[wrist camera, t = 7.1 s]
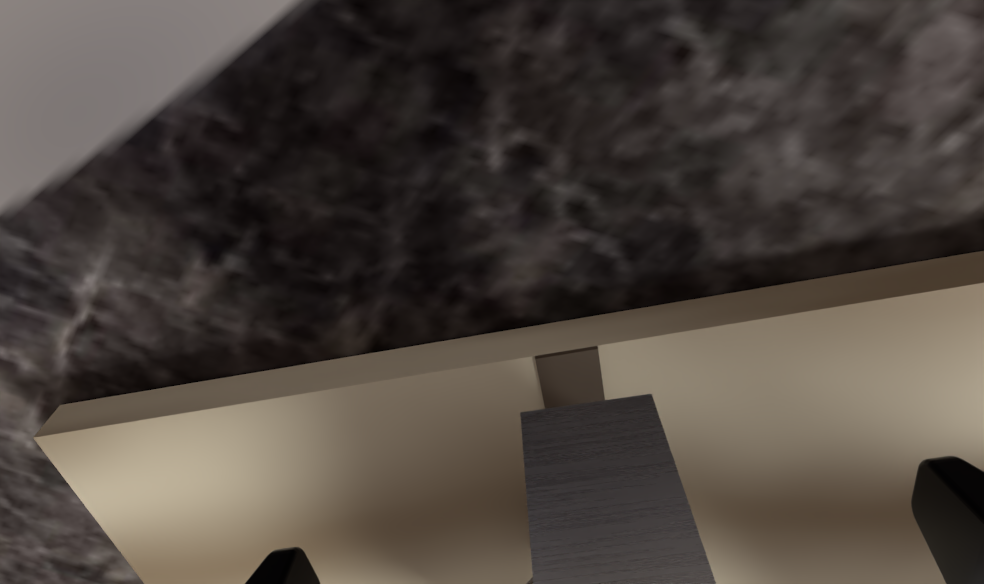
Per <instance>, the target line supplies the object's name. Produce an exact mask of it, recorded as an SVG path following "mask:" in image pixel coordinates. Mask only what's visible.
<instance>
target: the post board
mask: <svg viewBox="0 0 984 584" xmlns="http://www.w3.org/2000/svg"><path fill="white" fill-rule="evenodd" d="M645 394H652V397H653V400H654V403H655V405H656V408H657V411H658V414H659V417H660V420H661V423H662V426H663V429H664V432H665V435H666V438H667V441H668V444H669V447H670V450H671V452H672V455H673V458H674V461H675V464H676V467H677V470H678V473H679V476H680V479H681V482H682V485H683V488H684V491H685V494H686V497H687V500H688V502H689V505H690V508H691V511H692V514H693V517H694V520H695V523H696V526H697V529H698V532H699V535H700V538H701V541H702V544H703V547H704V549H705V552H706V555H707V558H708V561H709V564H710V567H711V570H712V573H713V576H714V579H715V582H716V584H946V582H945V580H944V578H943V576H942V574H941V572H940V570H939V568H938V566H937V564H936V562H935V560H934V557H933V555H932V553H931V551H930V549H929V547H928V545H927V543H926V541H925V539H924V537H923V535H922V533H921V531H920V529H919V527H918V524H917V522H916V520H915V518H914V515H913V512H912V507H911V498H912V493H913V489H914V484H915V479H916V475H917V470H918V466H919V464H920V463H921V462H922V461H923V460H925V459H929V458H936V457H943V456H956V457H959V458H961V459H963V460H965V461H967V462H969V463H970V464H972V465H974V466H975V467H977V468H979V469H981V470H982V471H984V251H979V252H973V253H967V254H961V255H955V256H949V257H943V258H937V259H931V260H925V261H919V262H913V263H907V264H901V265H895V266H889V267H883V268H877V269H871V270H865V271H860V272H854V273H848V274H842V275H836V276H830V277H824V278H818V279H812V280H806V281H800V282H794V283H788V284H782V285H776V286H770V287H764V288H758V289H752V290H746V291H740V292H734V293H728V294H722V295H716V296H710V297H704V298H698V299H692V300H686V301H680V302H674V303H668V304H662V305H656V306H650V307H644V308H638V309H632V310H626V311H620V312H614V313H608V314H602V315H596V316H590V317H584V318H578V319H572V320H566V321H560V322H554V323H548V324H542V325H536V326H530V327H524V328H518V329H512V330H506V331H500V332H494V333H488V334H482V335H476V336H470V337H464V338H458V339H452V340H446V341H440V342H434V343H428V344H422V345H416V346H410V347H404V348H398V349H392V350H387V351H381V352H375V353H369V354H363V355H357V356H351V357H345V358H339V359H333V360H327V361H321V362H315V363H309V364H303V365H297V366H291V367H285V368H279V369H273V370H267V371H261V372H255V373H249V374H243V375H237V376H231V377H225V378H219V379H213V380H207V381H201V382H195V383H189V384H183V385H177V386H171V387H165V388H159V389H153V390H147V391H141V392H135V393H129V394H123V395H117V396H111V397H105V398H99V399H93V400H87V401H81V402H75V403H69V404H63V405H60V406H59V407H58V408H57V409H56V411H55V412H54V413H53V414H52V415H51V417H50V418H49V419H48V420H47V421H46V423H45V424H44V425H43V426H42V428H41V429H40V430H39V431H38V432H37V434H36V435H35V436H34V437H33V438H34V439H35V441H36V442H37V443H38V445H39V446H40V447H41V449H42V450H43V451H44V452H45V454H46V455H47V456H48V458H49V459H50V460H51V462H52V463H53V464H54V466H55V467H56V468H57V470H58V471H59V472H60V473H61V475H62V476H63V477H64V479H65V480H66V481H67V483H68V484H69V485H70V487H71V488H72V489H73V491H74V492H75V493H76V494H77V496H78V497H79V498H80V500H81V501H82V502H83V504H84V505H85V506H86V508H87V509H88V510H89V512H90V513H91V514H92V515H93V517H94V518H95V519H96V521H97V522H98V523H99V525H100V526H101V527H102V529H103V530H104V531H105V533H106V534H107V535H108V536H109V538H110V539H111V540H112V542H113V543H114V544H115V546H116V547H117V548H118V550H119V551H120V552H121V554H122V555H123V556H124V557H125V559H126V560H127V561H128V563H129V564H130V565H131V567H132V568H133V569H134V571H135V572H136V573H137V575H138V576H139V577H140V578H141V580H142V581H143V582H144V584H245V583H246V581H247V580H248V579H249V578H250V576H251V575H252V574H253V573H254V571H255V570H256V569H257V568H258V566H259V565H260V564H261V563H262V561H263V560H264V559H265V558H266V556H267V555H268V554H269V553H271V552H272V551H274V550H277V549H283V548H290V547H300V548H301V549H303V551H304V552H305V554H306V556H307V558H308V559H309V561H310V563H311V565H312V567H313V569H314V571H315V573H316V575H317V576H318V578H319V581H320V584H526V583H527V582H528V581H529V580H530V579H531V578H532V577H533V573H532V560H531V547H530V534H529V521H528V508H527V495H526V481H525V468H524V455H523V442H522V429H521V416H520V412H526V411H533V410H540V409H547V408H554V407H561V406H568V405H575V404H582V403H589V402H596V401H603V400H610V399H617V398H624V397H631V396H638V395H645Z"/></svg>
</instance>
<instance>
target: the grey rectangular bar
mask: <svg viewBox="0 0 984 584" xmlns="http://www.w3.org/2000/svg"><path fill="white" fill-rule="evenodd" d="M520 416H521V429H522V442H523V455H524V468H525V481H526V495H527V508H528V521H529V534H530V547H531V560H532V573H533V577H532V578H531V579H530V580H529V581H528V582H527V583H526V584H716V582H715V579H714V576H713V573H712V570H711V567H710V564H709V561H708V558H707V555H706V552H705V549H704V547H703V544H702V541H701V538H700V535H699V532H698V529H697V526H696V523H695V520H694V517H693V514H692V511H691V508H690V505H689V502H688V500H687V497H686V494H685V491H684V488H683V485H682V482H681V479H680V476H679V473H678V470H677V467H676V464H675V461H674V458H673V455H672V452H671V450H670V447H669V444H668V441H667V438H666V435H665V432H664V429H663V426H662V423H661V420H660V417H659V414H658V411H657V408H656V405H655V403H654V400H653V397H652V394H645V395H638V396H631V397H624V398H617V399H610V400H603V401H596V402H589V403H582V404H575V405H568V406H561V407H554V408H547V409H540V410H533V411H526V412H520Z"/></svg>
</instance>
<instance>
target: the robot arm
mask: <svg viewBox="0 0 984 584" xmlns="http://www.w3.org/2000/svg"><path fill="white" fill-rule="evenodd" d="M911 507H912V512H913V515H914V518H915V520H916V522H917V524H918V527H919V529H920V531H921V533H922V535H923V537H924V539H925V541H926V543H927V545H928V547H929V549H930V551H931V553H932V555H933V557H934V560H935V562H936V564H937V566H938V568H939V570H940V572H941V574H942V576H943V578H944V580H945V582H946V584H984V471H982V470H981V469H979V468H977V467H975V466H974V465H972V464H970V463H969V462H967V461H965V460H963V459H961V458H959V457H956V456H943V457H936V458H929V459H925V460H923V461H922V462H921V463H920V464H919V466H918V470H917V475H916V479H915V484H914V489H913V493H912V498H911ZM245 584H320V581H319V578H318V576H317V575H316V573H315V571H314V569H313V567H312V565H311V563H310V561H309V559H308V558H307V556H306V554H305V552H304V551H303V549H301V548H300V547H290V548H283V549H277V550H274V551H272V552H271V553H269V554H268V555H267V556H266V558H265V559H264V560H263V561H262V563H261V564H260V565H259V566H258V568H257V569H256V570H255V571H254V573H253V574H252V575H251V576H250V578H249V579H248V580H247V581H246V583H245Z"/></svg>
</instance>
